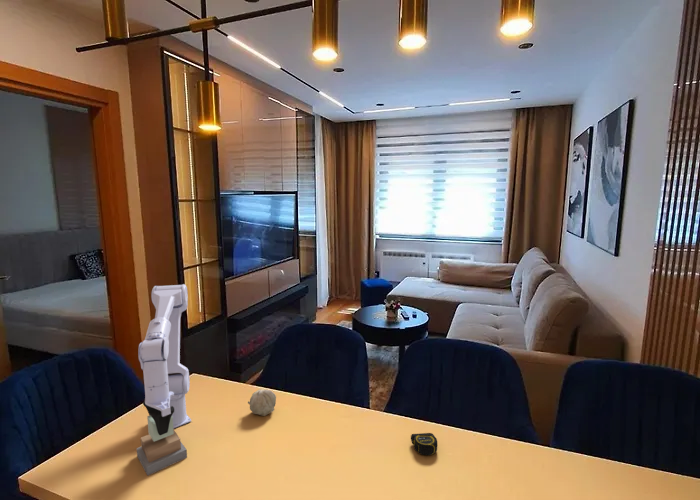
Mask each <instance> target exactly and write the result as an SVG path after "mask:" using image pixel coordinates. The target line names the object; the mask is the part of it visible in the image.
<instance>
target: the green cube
mask: <svg viewBox="0 0 700 500" xmlns="http://www.w3.org/2000/svg"><path fill="white" fill-rule="evenodd" d="M173 429H174V428H173V417H172V416H171V419H170V423H169V429H168V432H167V433H165V434H163V435H159V434H158V431H157V427H156V424H155V421H154V419H153V418H152V417H151V415H150V416H149V415H147V430H148V435H150V436H151V438H152V440H153V441H154V442H155V441H157V440H160V439H162V438H165V437H167V436H170V435H172V434H174V431H173Z"/></svg>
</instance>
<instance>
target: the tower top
mask: <svg viewBox="0 0 700 500" xmlns="http://www.w3.org/2000/svg"><path fill="white" fill-rule="evenodd" d="M173 431H174V434H172V435H170V436H167V437H165V438H162V439H160V440H157V441H155V442H154V441H153V440H152V438H151V436H150V435H149V434H146V435H144V436H141V437H140V443H141V444H140V445H141V446H140V447H142V449H143V451H144V453H145V455H146V457H147V459H148V461H149V462H152V461H154V460H156V459H159V458H161V457H163V456H166V455H168V454H170V453H173V452H175V451H177V450H180V449H181V443H182V441H181V438H180V436H179V435H178V433H177V432H176V430H175V428H173ZM180 441H181V442H180Z"/></svg>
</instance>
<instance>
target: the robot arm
mask: <svg viewBox="0 0 700 500" xmlns="http://www.w3.org/2000/svg"><path fill="white" fill-rule="evenodd" d="M150 296H151V302H152V304H153V306H154V309H155V315H154V318H153V319H152V320H150V321H149V324H148V325H147V326H148V327H147V330H146V333H145V337H144V340H142V341H141V342H140V343H139V344H138V351H137V352H138V354H137V355H138V361H139V364H140V368H141V370H142V371H143V373H142V374H143V382H144V395H145V396H144V397H145V398H144V401H143V402H142V405H143V406H144V407H145V409H146V410H147V412H148V416H150V415H151V417H152V418H153V419H154V421H155V424H156V427H157V431H158V434H159V435H163V434H165V433H167V432H168V429H169V423H170V419H171V416H172V417H173V429H176V428H178V427H180V426H184V425H186V424H187V423H191V422H192V419H191V417H190V416H188V414H187V404H186V395H187V394H188V393H189V391H190V384H191V383H190V381H191V380H190V372H189V371H190V370H189V369H188V367H186V366H185V365H183V364H182V363H180V362H181V361H180V360H181V355H180V354H181V353H180V352H181V350H180V349H181V317H182V313H183V312H185V311H186V310H187V309H188V301H189V300H188V299H189V297H188V287H187V285H186V284H185V283H183V284H174V285H173V284H171V285H170V284H169V285H154V286H153V288H152V290H151V295H150Z"/></svg>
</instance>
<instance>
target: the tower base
mask: <svg viewBox="0 0 700 500" xmlns="http://www.w3.org/2000/svg"><path fill="white" fill-rule="evenodd" d="M180 442H181V449H180V450H177V451H175V452H173V453H170V454H168V455H166V456H163V457H161V458H159V459H156V460H154V461H152V462H149V461H148V459H147V457H146V455H145V453H144V451H143V449H142V447H141V446H139V447H136V457H137V458H138V460H139V462H140V464H141V466H142V468H143V470H144V472H145V474H146V475H147V476H148V477H149V476H151V475H152V474H154V473H157V472H159V471H161V470H163V469H166V468H167V467H169V466H171V465H173V464H176V463H178V462H180V461H182V460H185V459H187V458H188V453H187V448H186V447H185V445H184V444H183V443H182V441H181V440H180Z"/></svg>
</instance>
